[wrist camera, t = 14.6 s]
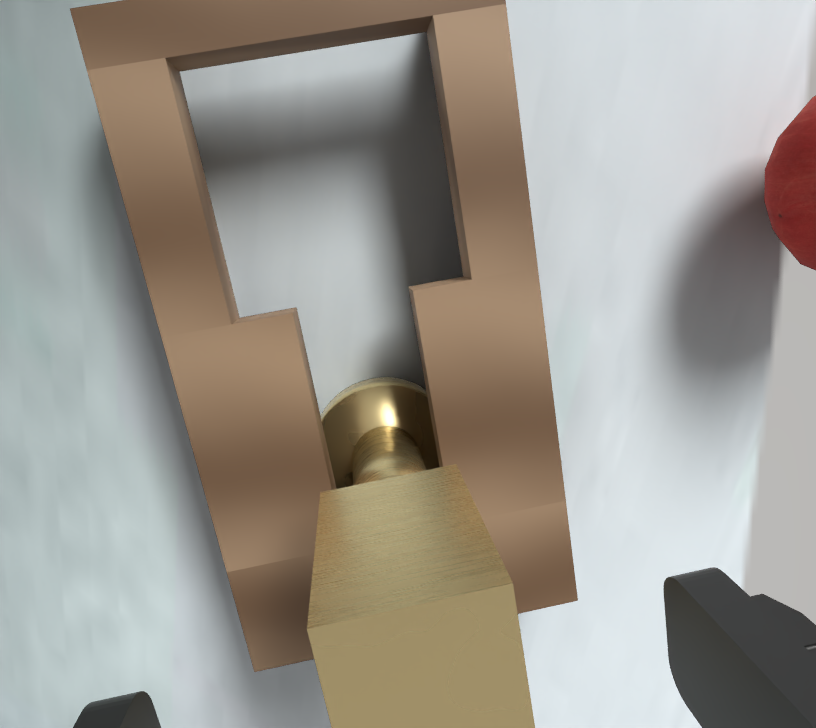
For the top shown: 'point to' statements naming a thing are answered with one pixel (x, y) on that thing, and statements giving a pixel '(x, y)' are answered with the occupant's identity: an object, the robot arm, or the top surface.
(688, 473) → the top surface
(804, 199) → the onion
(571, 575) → the keyhole plate
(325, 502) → the keyhole peg
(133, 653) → the top surface
